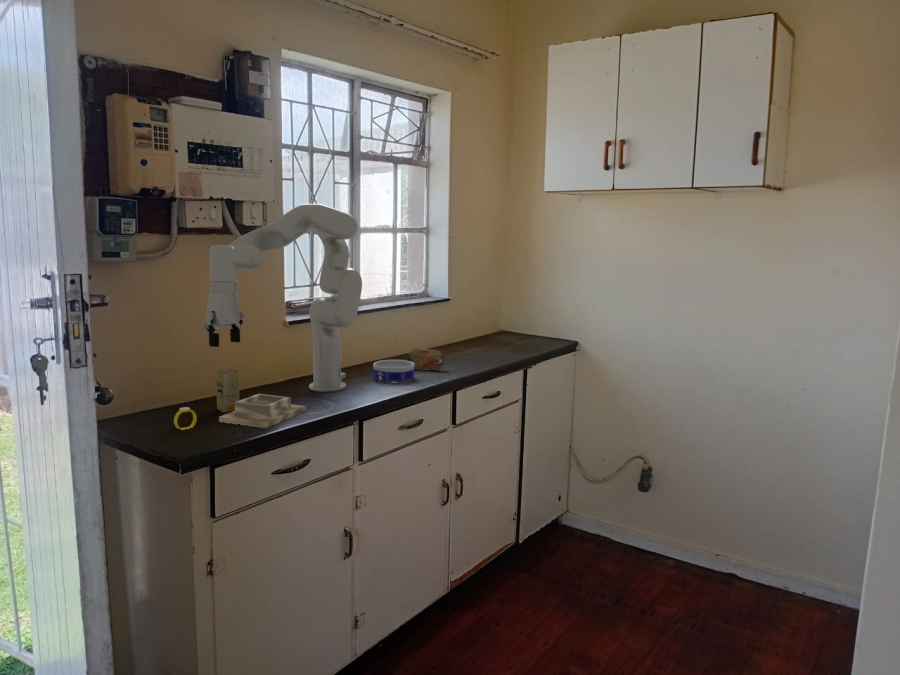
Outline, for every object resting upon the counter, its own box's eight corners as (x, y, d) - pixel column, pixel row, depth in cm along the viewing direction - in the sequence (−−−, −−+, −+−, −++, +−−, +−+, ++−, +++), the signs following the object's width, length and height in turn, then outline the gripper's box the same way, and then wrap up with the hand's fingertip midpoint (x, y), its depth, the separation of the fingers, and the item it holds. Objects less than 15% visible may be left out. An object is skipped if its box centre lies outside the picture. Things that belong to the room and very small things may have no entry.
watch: (178, 433, 185) (176, 412, 184) (173, 431, 187) (171, 410, 185) (199, 427, 189) (196, 406, 188) (194, 425, 191) (191, 404, 190)
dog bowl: (422, 378, 257) (422, 362, 256) (397, 385, 244) (397, 369, 243) (391, 373, 265) (391, 358, 264) (364, 380, 253) (364, 364, 252)
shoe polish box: (232, 406, 212) (231, 369, 210) (239, 410, 208) (238, 371, 206) (217, 409, 208) (215, 371, 206) (224, 412, 205) (223, 373, 203)
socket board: (260, 405, 214) (260, 389, 213) (305, 410, 208) (305, 394, 207) (219, 422, 195) (218, 405, 194) (266, 428, 190) (266, 410, 189)
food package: (406, 369, 272) (407, 348, 270) (409, 368, 275) (409, 347, 273) (443, 372, 268) (443, 350, 267) (445, 370, 271) (445, 349, 270)
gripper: (231, 285, 211) (232, 339, 214) (193, 288, 195) (194, 347, 198) (252, 286, 209) (253, 341, 211) (214, 289, 193) (216, 349, 195)
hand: (224, 344), depth 205 cm, fingers open, 9 cm apart
